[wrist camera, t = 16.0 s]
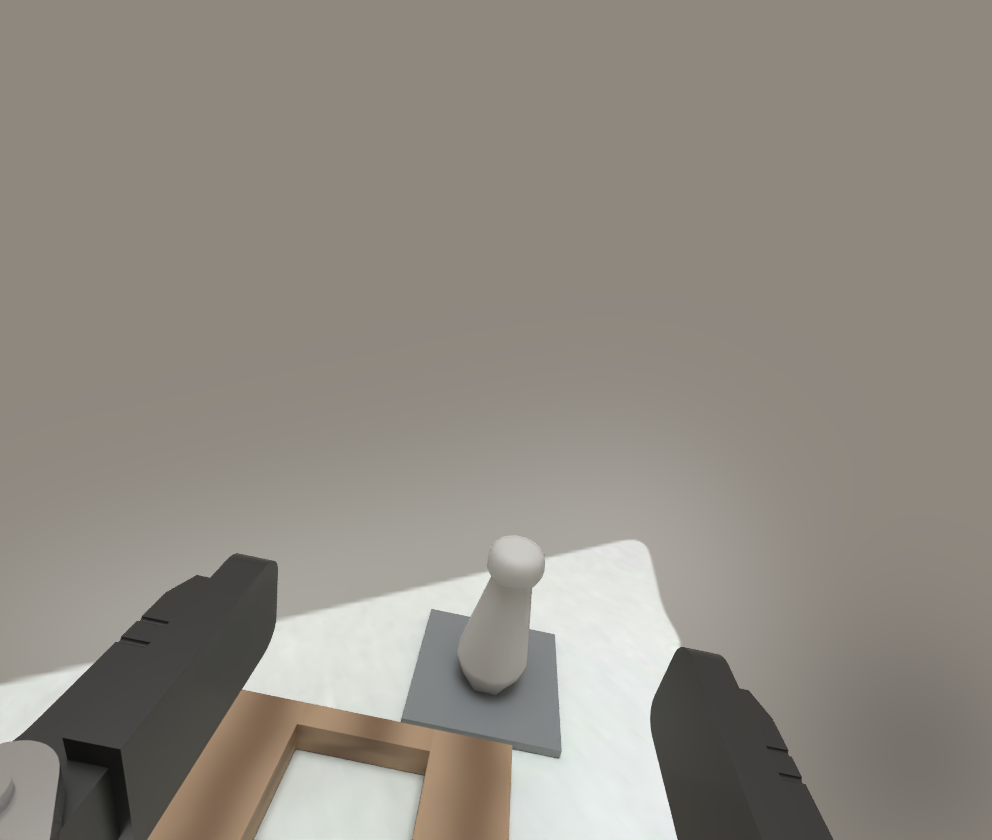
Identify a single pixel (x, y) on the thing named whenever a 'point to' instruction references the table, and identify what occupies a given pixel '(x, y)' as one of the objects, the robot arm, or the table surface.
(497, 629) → the salt shaker
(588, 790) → the table surface
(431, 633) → the slate board
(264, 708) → the walnut stand
